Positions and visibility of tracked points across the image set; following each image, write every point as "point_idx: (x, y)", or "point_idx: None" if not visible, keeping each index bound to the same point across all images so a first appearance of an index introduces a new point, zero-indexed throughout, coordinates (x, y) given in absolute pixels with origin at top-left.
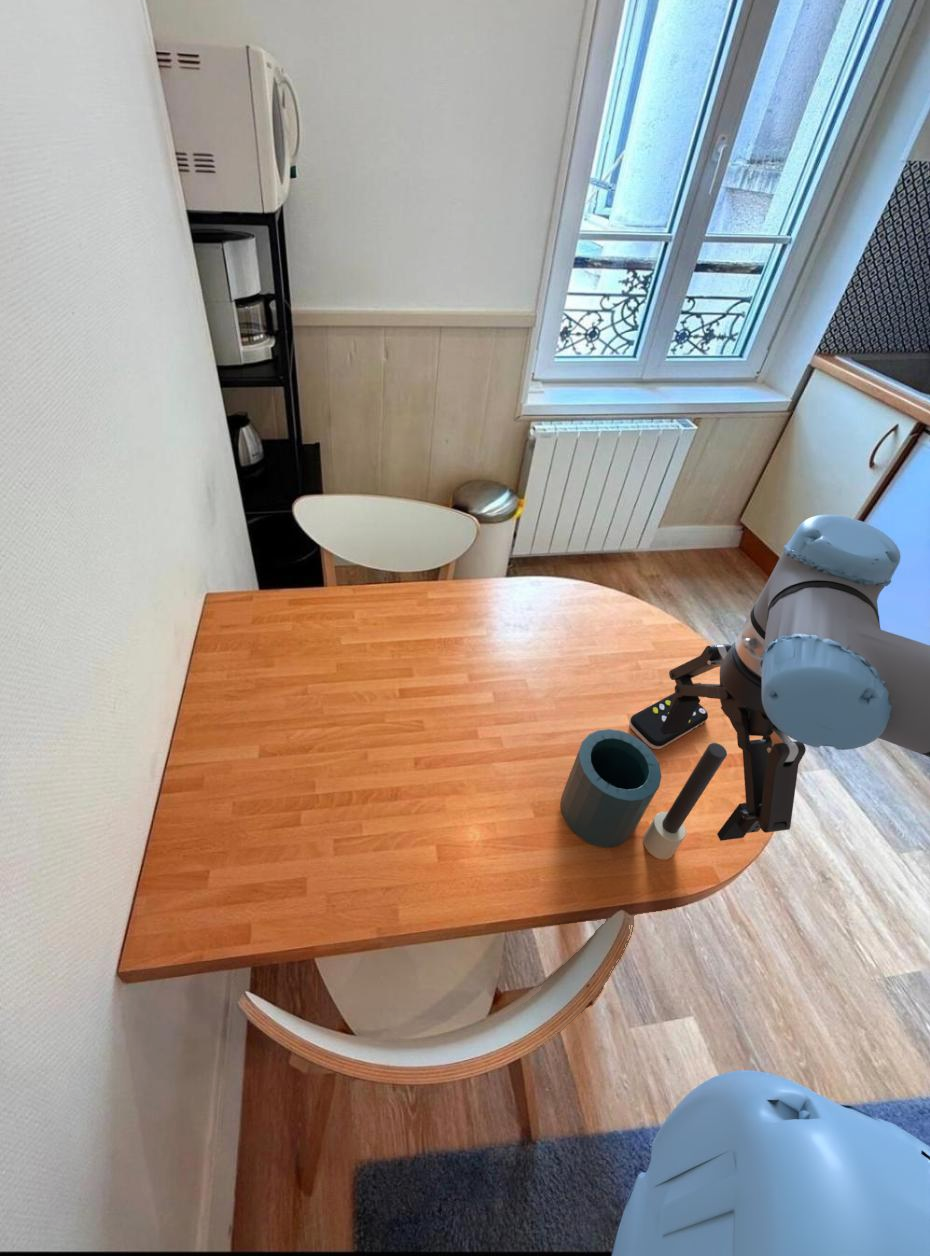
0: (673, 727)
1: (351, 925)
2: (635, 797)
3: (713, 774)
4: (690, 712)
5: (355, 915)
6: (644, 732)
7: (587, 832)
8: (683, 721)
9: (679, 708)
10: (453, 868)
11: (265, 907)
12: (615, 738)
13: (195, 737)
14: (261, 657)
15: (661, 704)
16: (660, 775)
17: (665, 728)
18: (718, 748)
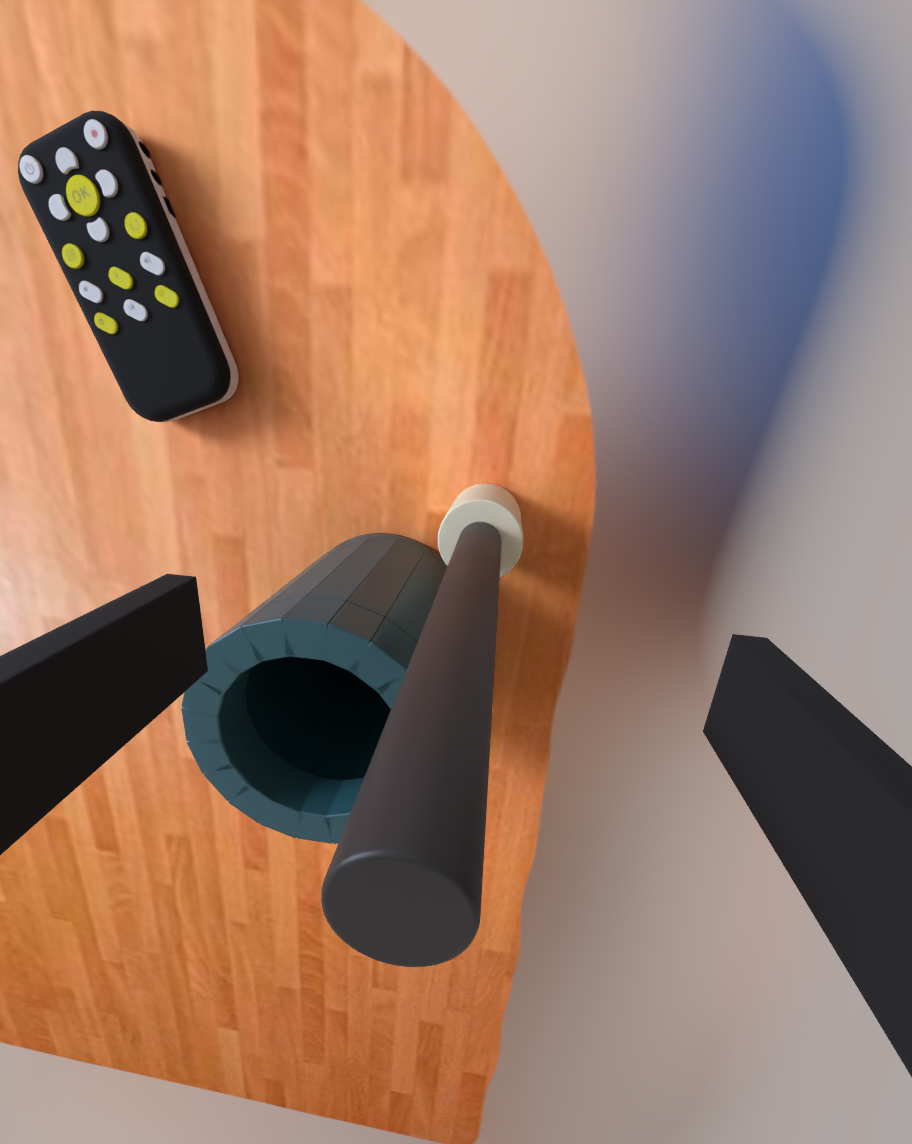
0: (169, 665)
1: (494, 996)
2: None
3: (490, 732)
4: (41, 692)
5: (482, 990)
6: (186, 404)
7: None
8: (126, 654)
9: (4, 827)
10: None
11: (448, 1059)
12: (217, 708)
13: (204, 1077)
14: (55, 999)
15: (81, 288)
16: (369, 644)
17: (176, 693)
18: (382, 902)
